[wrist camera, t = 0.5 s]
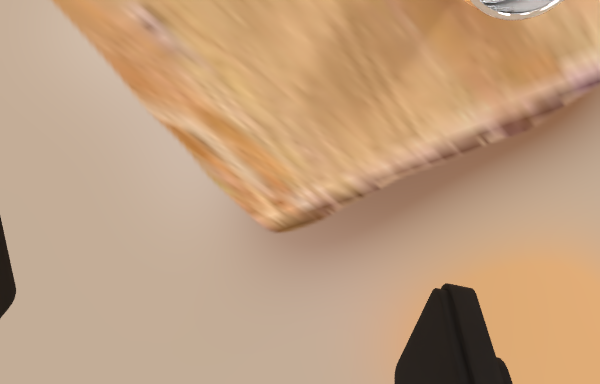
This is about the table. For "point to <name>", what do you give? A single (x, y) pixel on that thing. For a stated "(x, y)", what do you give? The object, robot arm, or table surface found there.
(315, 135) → the table surface
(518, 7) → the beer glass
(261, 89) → the table surface
